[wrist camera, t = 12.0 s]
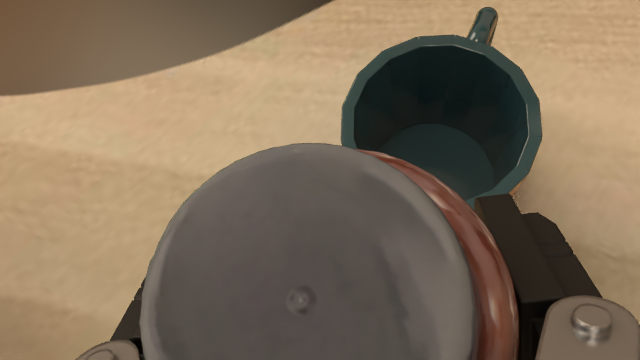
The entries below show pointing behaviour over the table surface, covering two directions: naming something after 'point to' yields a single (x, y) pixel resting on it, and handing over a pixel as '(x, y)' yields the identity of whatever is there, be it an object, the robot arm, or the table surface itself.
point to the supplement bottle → (327, 266)
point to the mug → (449, 111)
